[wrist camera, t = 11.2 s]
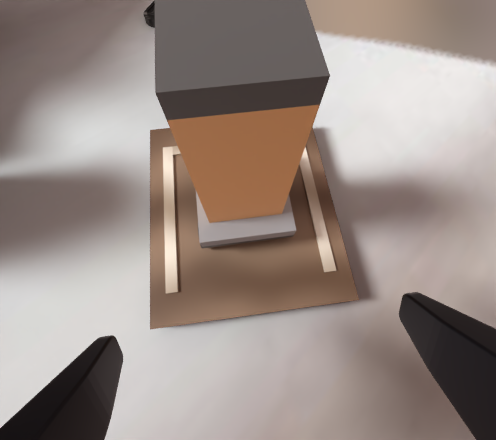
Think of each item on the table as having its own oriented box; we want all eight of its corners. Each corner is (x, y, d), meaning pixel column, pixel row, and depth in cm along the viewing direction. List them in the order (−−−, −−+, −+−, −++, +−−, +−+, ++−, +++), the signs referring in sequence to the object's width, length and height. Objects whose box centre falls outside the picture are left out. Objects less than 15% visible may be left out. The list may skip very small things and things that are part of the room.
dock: (348, 301, 19) (360, 299, 17) (159, 327, 18) (149, 329, 16) (304, 128, 25) (309, 112, 23) (157, 144, 24) (149, 128, 22)
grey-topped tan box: (291, 242, 19) (376, 107, 6) (204, 254, 18) (117, 134, 6) (275, 161, 21) (314, -51, 9) (197, 170, 21) (126, -37, 8)
